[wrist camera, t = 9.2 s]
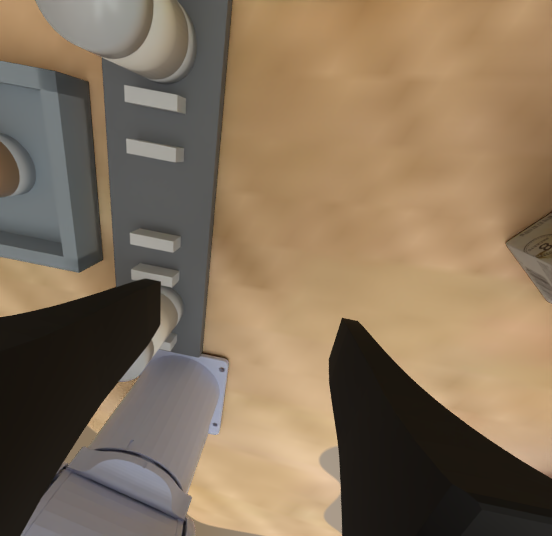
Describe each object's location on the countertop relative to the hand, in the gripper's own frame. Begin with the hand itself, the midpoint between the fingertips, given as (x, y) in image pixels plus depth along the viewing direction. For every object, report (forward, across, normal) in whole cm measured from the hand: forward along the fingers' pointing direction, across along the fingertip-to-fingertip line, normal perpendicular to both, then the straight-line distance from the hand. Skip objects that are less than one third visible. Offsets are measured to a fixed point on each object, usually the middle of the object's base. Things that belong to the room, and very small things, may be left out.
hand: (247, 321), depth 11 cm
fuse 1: (+9, +8, -10) cm, 16 cm away
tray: (+10, +19, -2) cm, 22 cm away
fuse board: (+10, +8, -2) cm, 13 cm away
